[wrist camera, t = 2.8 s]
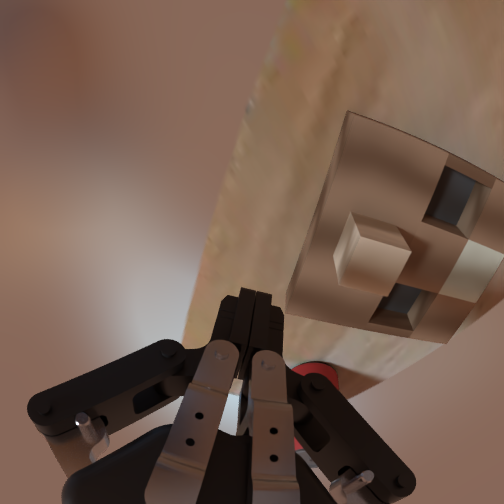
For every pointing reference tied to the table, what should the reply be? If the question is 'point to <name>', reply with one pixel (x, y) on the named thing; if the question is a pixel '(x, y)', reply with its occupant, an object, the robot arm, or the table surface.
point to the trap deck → (411, 228)
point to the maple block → (370, 255)
